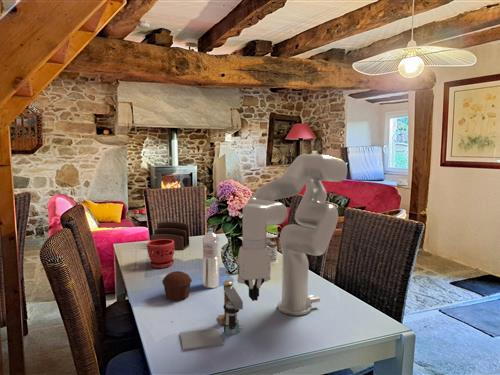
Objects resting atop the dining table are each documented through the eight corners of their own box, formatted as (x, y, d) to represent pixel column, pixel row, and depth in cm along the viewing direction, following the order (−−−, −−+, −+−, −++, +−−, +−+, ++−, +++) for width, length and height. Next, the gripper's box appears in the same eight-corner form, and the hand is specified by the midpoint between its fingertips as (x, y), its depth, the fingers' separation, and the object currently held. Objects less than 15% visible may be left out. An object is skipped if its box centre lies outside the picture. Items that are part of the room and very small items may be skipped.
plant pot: (172, 260, 199) (172, 237, 198) (176, 268, 187) (175, 244, 185) (146, 262, 195) (146, 239, 194) (148, 270, 183) (147, 246, 181)
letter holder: (158, 243, 230) (157, 220, 228) (189, 245, 226) (189, 222, 224) (150, 248, 220) (150, 224, 218) (183, 250, 216) (182, 226, 214)
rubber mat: (216, 329, 127) (216, 327, 127) (223, 345, 118) (223, 343, 118) (180, 334, 124) (180, 332, 124) (183, 350, 114) (183, 348, 114)
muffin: (156, 299, 150) (156, 275, 149) (172, 289, 160) (171, 266, 159) (182, 305, 146) (182, 279, 144) (197, 294, 156) (197, 270, 155)
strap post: (234, 315, 137) (234, 287, 136) (238, 323, 131) (238, 294, 130) (217, 317, 135) (217, 289, 134) (221, 325, 130) (221, 296, 128)
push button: (239, 326, 129) (239, 297, 128) (246, 333, 125) (246, 304, 123) (221, 330, 127) (220, 301, 125) (227, 338, 122) (227, 307, 121)
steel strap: (231, 288, 134) (231, 279, 133) (244, 308, 118) (244, 299, 118) (222, 289, 133) (222, 280, 133) (233, 310, 117) (233, 300, 117)
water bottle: (222, 285, 165) (222, 228, 162) (210, 290, 160) (209, 231, 157) (211, 281, 169) (211, 226, 166) (199, 285, 165) (199, 228, 161)
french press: (279, 264, 193) (280, 215, 190) (256, 264, 193) (256, 215, 190) (278, 258, 203) (279, 211, 199) (256, 258, 203) (256, 211, 200)
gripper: (272, 238, 126) (272, 292, 128) (228, 241, 122) (228, 297, 124) (280, 244, 119) (279, 301, 121) (234, 248, 115) (233, 306, 117)
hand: (253, 299), depth 123 cm, fingers closed
